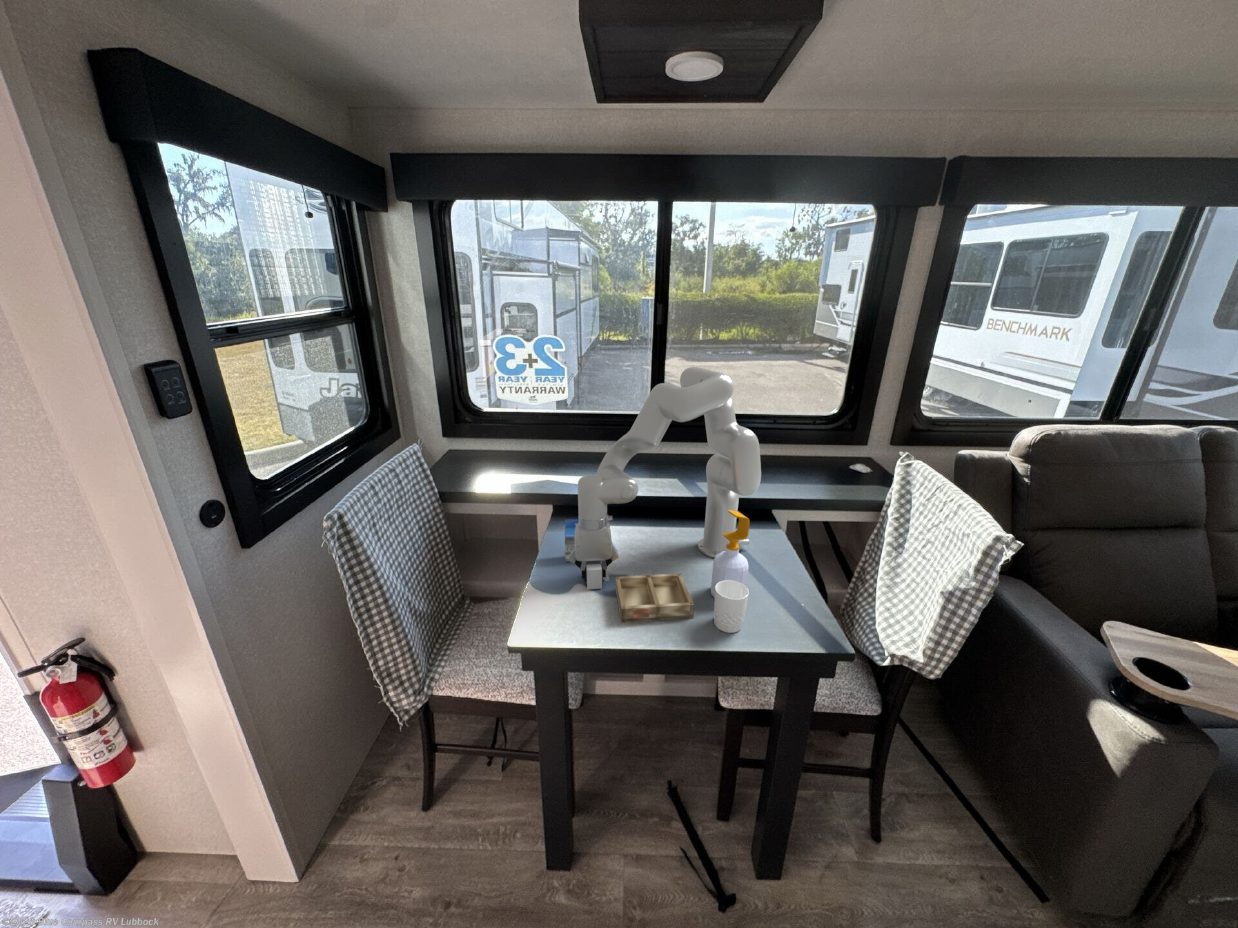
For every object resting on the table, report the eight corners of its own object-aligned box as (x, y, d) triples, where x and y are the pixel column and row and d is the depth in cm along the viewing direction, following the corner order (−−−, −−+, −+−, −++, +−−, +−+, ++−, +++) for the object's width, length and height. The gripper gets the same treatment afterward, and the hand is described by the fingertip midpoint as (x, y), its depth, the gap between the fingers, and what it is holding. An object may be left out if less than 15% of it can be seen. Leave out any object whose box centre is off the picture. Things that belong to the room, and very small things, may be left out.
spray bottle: (704, 588, 130) (711, 507, 122) (732, 582, 134) (741, 502, 125) (722, 607, 123) (731, 521, 114) (751, 600, 126) (762, 516, 117)
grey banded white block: (599, 572, 136) (599, 553, 134) (602, 588, 129) (602, 569, 127) (585, 573, 136) (585, 554, 134) (587, 589, 128) (586, 569, 126)
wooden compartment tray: (679, 585, 132) (680, 572, 130) (693, 618, 118) (694, 605, 117) (615, 588, 129) (615, 576, 128) (621, 623, 116) (621, 609, 114)
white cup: (721, 609, 122) (724, 576, 118) (749, 622, 117) (754, 588, 114) (705, 625, 116) (709, 590, 112) (735, 639, 111) (739, 603, 108)
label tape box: (564, 562, 142) (564, 525, 138) (565, 555, 146) (564, 519, 142) (594, 561, 142) (594, 525, 138) (594, 554, 146) (594, 518, 142)
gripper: (622, 513, 130) (621, 570, 137) (561, 516, 129) (563, 574, 135) (625, 525, 123) (625, 585, 130) (561, 529, 122) (563, 589, 128)
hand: (593, 579), depth 132 cm, fingers closed on grey banded white block, 4 cm apart
